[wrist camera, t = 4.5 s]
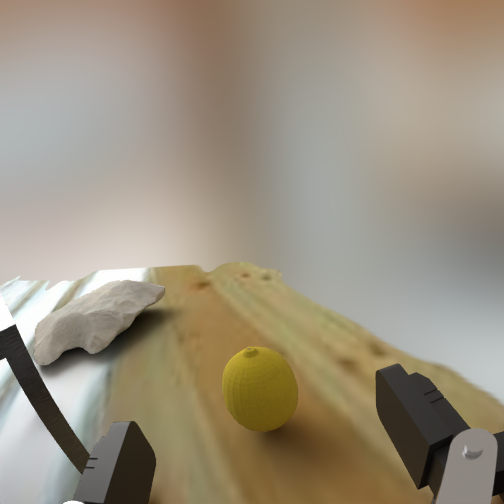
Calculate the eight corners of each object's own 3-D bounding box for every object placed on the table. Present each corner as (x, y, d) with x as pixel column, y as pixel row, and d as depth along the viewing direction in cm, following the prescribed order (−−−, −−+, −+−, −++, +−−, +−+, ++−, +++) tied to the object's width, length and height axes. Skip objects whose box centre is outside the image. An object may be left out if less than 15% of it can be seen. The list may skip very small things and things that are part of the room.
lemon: (275, 396, 28) (258, 321, 25) (317, 423, 23) (306, 343, 21) (224, 426, 25) (197, 351, 23) (261, 462, 20) (236, 384, 18)
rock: (26, 313, 48) (138, 254, 59) (45, 345, 50) (153, 287, 62) (17, 360, 32) (173, 276, 43) (47, 400, 34) (192, 319, 46)
